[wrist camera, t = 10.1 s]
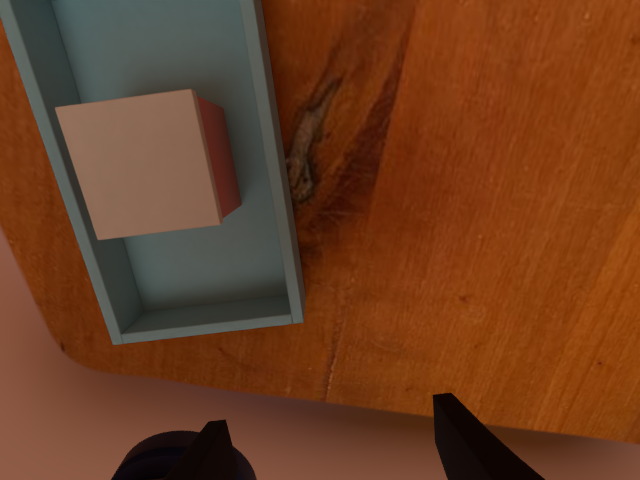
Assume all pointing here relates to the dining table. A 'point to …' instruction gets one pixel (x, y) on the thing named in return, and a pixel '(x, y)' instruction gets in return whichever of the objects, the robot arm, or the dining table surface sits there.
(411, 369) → the dining table surface
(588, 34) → the dining table surface
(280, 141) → the shallow rectangular tray
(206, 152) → the two-tone cube
